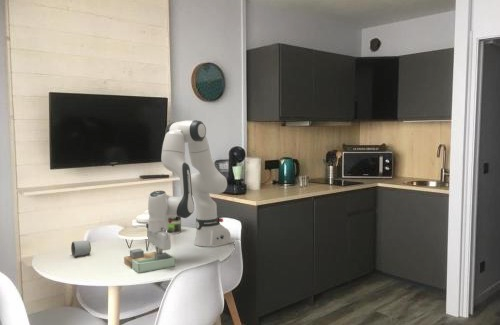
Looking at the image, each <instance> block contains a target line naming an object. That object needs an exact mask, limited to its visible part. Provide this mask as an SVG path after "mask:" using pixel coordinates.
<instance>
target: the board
mask: <svg viewBox="0 0 500 325" xmlns="http://www.w3.org/2000/svg"><path fill="white" fill-rule="evenodd" d="M162 253H164V252H162ZM155 254H156V251H151V252H144V257H142V258H136V259H133V258H131V257H130V255H129V256H127V255H126V256H123V263H124V264H125V265H126V266H128V267H129V268H130V269H132V260H135V261H139V260H145V259H150V258H155Z"/></svg>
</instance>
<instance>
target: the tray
mask: <svg viewBox="0 0 500 325" xmlns="http://www.w3.org/2000/svg"><path fill="white" fill-rule="evenodd" d="M167 254H168V259H163V260H157V261H155V258H150V259H145V260H139V261H135V260H132V268H131V269H133V271H135V272H136V273H137V274H142V273H147V272H152V271H157V270H162V269H168V268H169V269H170V268H174V267H176V258H175V256H173V255H171V254H169V253H167Z"/></svg>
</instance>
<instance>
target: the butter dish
mask: <svg viewBox="0 0 500 325" xmlns="http://www.w3.org/2000/svg"><path fill="white" fill-rule="evenodd" d="M148 222H149V212H148V209H146V210H145V211H144V212H143V213H141V214H138V215H137V216H136V217H135V218H134V219H132V220H131V223H132V228H133V227H134V228H137V227H146V223H148Z"/></svg>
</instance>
